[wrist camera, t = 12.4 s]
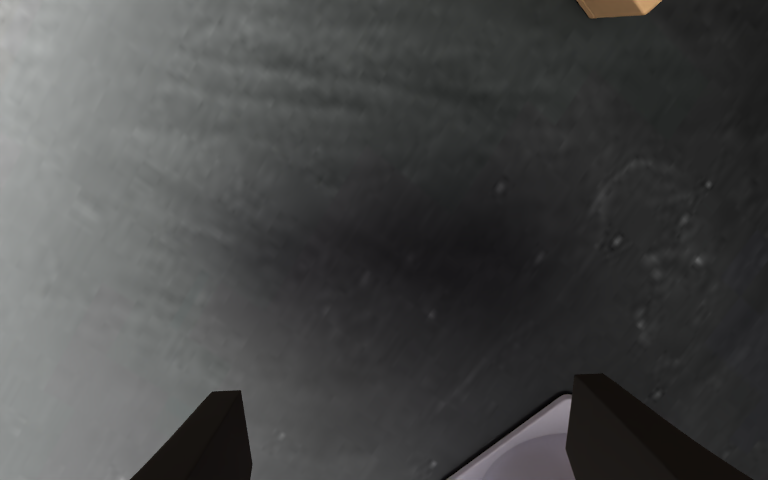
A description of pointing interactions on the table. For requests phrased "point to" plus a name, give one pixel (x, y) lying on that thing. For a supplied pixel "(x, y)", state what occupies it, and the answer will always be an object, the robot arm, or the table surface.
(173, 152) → the table surface
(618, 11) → the desk tray
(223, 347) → the table surface
